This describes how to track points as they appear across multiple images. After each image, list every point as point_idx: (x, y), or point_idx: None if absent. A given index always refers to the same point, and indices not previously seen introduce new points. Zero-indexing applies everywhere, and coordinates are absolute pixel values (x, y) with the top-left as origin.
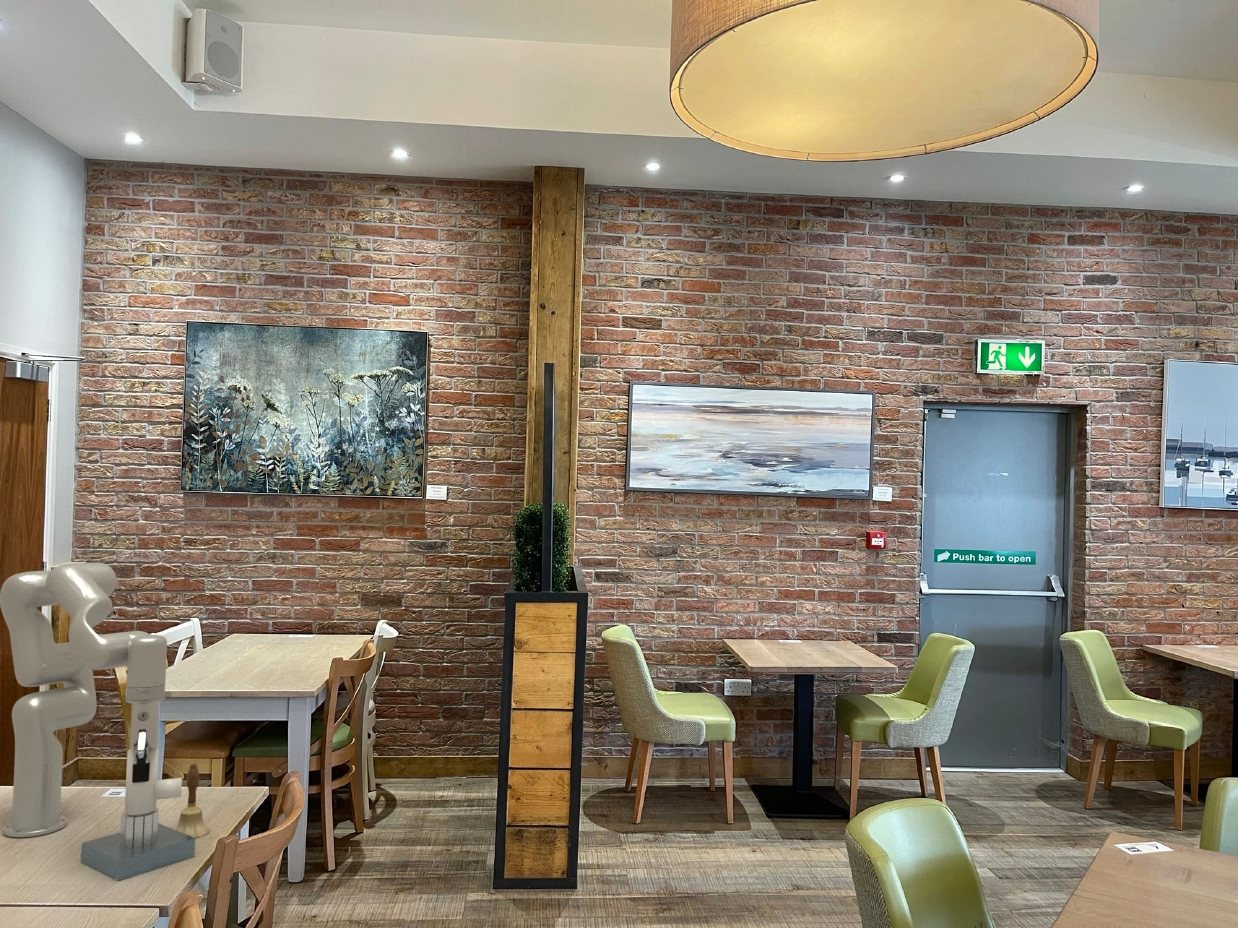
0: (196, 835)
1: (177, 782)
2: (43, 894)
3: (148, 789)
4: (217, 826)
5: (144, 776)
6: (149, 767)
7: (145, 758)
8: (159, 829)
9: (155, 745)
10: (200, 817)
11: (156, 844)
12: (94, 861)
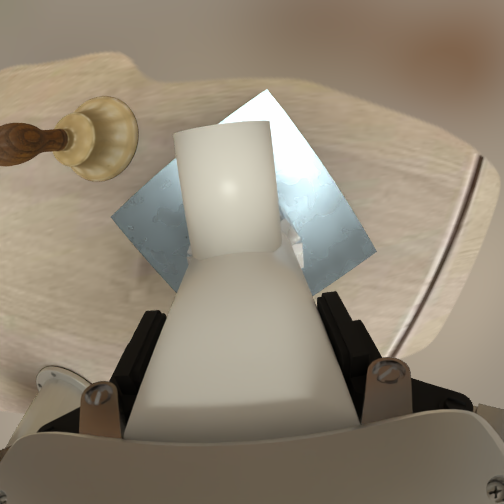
0: (129, 115)
1: (256, 142)
2: None
3: (299, 270)
4: (72, 90)
5: (361, 322)
6: (356, 332)
7: (426, 391)
8: (168, 196)
9: (481, 418)
10: (90, 112)
11: (292, 183)
12: None
